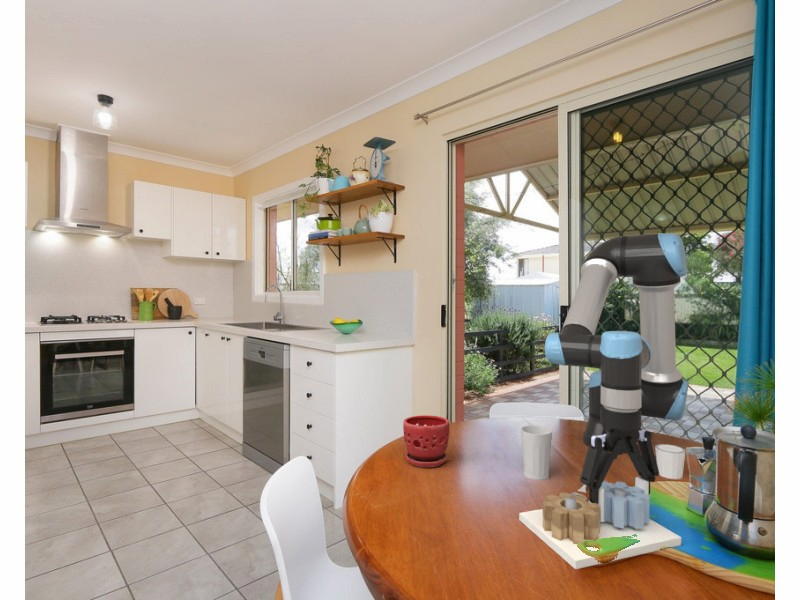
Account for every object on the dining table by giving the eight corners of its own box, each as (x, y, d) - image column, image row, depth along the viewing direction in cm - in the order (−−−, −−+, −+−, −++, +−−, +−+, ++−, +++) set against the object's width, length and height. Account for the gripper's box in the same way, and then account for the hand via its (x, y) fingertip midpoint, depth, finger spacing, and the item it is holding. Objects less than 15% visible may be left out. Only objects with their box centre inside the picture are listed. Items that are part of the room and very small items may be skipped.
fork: (607, 472, 123) (608, 465, 123) (579, 506, 104) (579, 498, 104) (595, 468, 125) (595, 462, 125) (565, 501, 106) (565, 494, 106)
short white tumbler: (651, 475, 120) (651, 448, 120) (658, 467, 125) (659, 441, 125) (682, 482, 115) (682, 454, 115) (688, 474, 120) (688, 447, 120)
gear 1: (560, 511, 98) (561, 488, 98) (609, 530, 90) (609, 505, 90) (532, 528, 92) (532, 503, 91) (582, 551, 83) (582, 523, 83)
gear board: (611, 503, 105) (611, 470, 105) (681, 545, 88) (681, 506, 88) (519, 519, 98) (519, 485, 97) (575, 569, 81) (575, 527, 80)
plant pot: (457, 466, 127) (457, 423, 127) (413, 473, 123) (413, 429, 122) (437, 450, 139) (437, 411, 139) (397, 456, 135) (396, 416, 134)
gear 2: (621, 500, 101) (621, 478, 101) (661, 524, 91) (661, 499, 91) (581, 507, 98) (581, 484, 98) (618, 532, 88) (618, 506, 88)
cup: (554, 482, 116) (554, 435, 116) (521, 480, 118) (521, 433, 117) (550, 470, 124) (550, 425, 124) (519, 467, 126) (519, 424, 125)
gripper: (650, 398, 101) (649, 498, 101) (560, 407, 94) (560, 514, 95) (680, 407, 94) (679, 514, 94) (586, 417, 87) (585, 533, 87)
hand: (620, 514), depth 94 cm, fingers closed on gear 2, 10 cm apart
